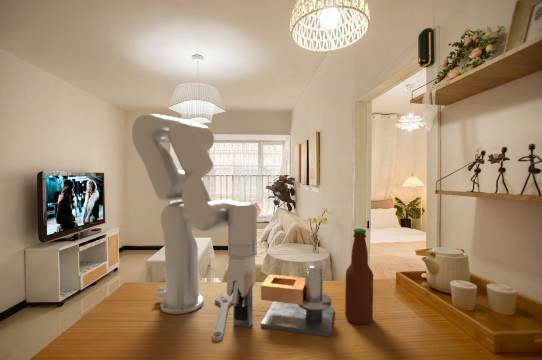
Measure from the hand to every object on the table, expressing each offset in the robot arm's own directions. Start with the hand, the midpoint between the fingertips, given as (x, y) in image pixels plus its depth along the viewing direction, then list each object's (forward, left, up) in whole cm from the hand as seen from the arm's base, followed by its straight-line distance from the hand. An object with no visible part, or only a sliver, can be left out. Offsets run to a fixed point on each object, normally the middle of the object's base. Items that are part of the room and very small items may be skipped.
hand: (243, 316), depth 79 cm
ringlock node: (+14, +7, -2) cm, 15 cm away
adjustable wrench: (-8, +3, -3) cm, 9 cm away
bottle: (+30, +11, -2) cm, 32 cm away
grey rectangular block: (0, 0, -2) cm, 2 cm away
